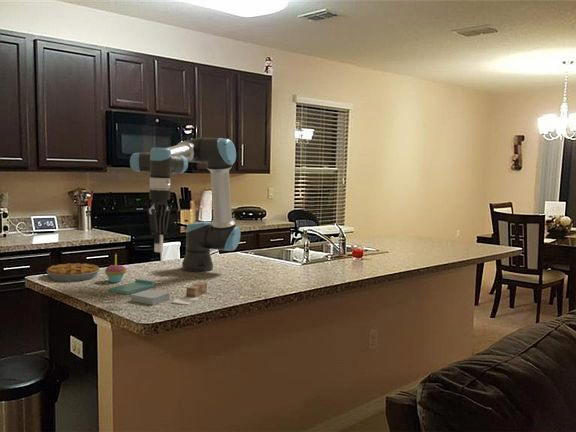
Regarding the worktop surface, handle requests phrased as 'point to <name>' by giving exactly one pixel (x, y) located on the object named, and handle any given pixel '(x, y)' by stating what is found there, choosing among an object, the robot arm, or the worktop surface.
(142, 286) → the rest
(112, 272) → the cupcake
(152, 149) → the robot arm
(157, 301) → the tile
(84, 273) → the pie
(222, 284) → the worktop surface
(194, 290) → the turner
